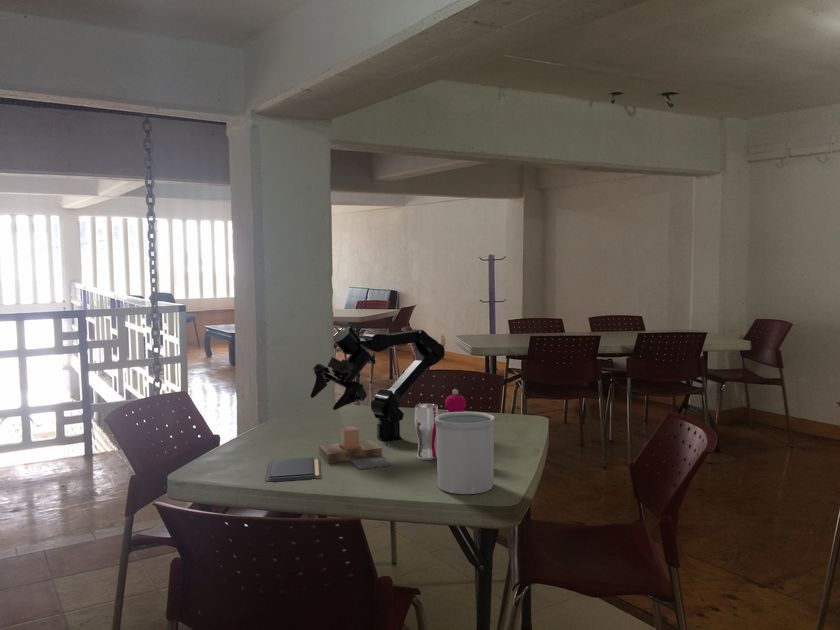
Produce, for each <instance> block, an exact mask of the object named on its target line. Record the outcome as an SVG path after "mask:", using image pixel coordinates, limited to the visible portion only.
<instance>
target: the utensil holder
mask: <svg viewBox="0 0 840 630" xmlns="http://www.w3.org/2000/svg"><path fill="white" fill-rule="evenodd" d="M495 418H496V417H495V416H494V415H493V414H490V413H486V412H477V411H464V412H450V413H447V412H445V413H444V412H443V413H441V414H438V415H437V416H436V417H435V424H436V449H437V458H436V463H437V464H436V465H437V466H436V467H437V468H436V469H437V484H438V488H439V489H440V490H441V491H443V492H447V493H450V494H454V495H473V494H474V495H475V494H482V493H486V492H489V491H490V490H492V489H493V487H494V470H495V469H494V466H495V465H494V464H495V461H494V459H495V457H494V456H495V451H494V450H495V448H494V447H495V446H494V444H495V441H494V440H495V427H494V425H495V423H496V420H495Z"/></svg>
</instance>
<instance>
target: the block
mask: <svg viewBox="0 0 840 630" xmlns="http://www.w3.org/2000/svg"><path fill="white" fill-rule="evenodd" d="M339 431H340V432H339V433H340V434H339V435H340V443H341V449H342V450H349V449H358V448H359V441H360V429H359V428H357V427H356V426H349V427H340V430H339Z"/></svg>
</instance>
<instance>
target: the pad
mask: <svg viewBox="0 0 840 630" xmlns="http://www.w3.org/2000/svg"><path fill="white" fill-rule="evenodd" d="M350 462H351V463H352V464H353V465H354V466H355V467H356V468H357V469H358V470H366V469H367V468H368V469H374V468H375V467H376V468H382V467H383V466H384V467H389V466H391V463H390V462H389V461H387V460H386V459H384V458H383V456H382V457H381V456H379V457H371V458H362V459H354V460H351V461H350ZM384 467H383V468H384ZM368 469H367V470H368Z"/></svg>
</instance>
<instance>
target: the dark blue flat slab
mask: <svg viewBox="0 0 840 630" xmlns="http://www.w3.org/2000/svg"><path fill="white" fill-rule="evenodd" d="M268 463H269V464H267V468H268V469H267V468H266V475H265V478H264V482H265V481H266V482H265V483H267V482H273V483H283V482H285V483H286V482H302V481H311V480H312V479H316V480H322V477H323V476H322V467H321V466H322V465H321V458H315V457H296V458H280V459H273V460H271V461H268ZM312 481H313V480H312Z"/></svg>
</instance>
